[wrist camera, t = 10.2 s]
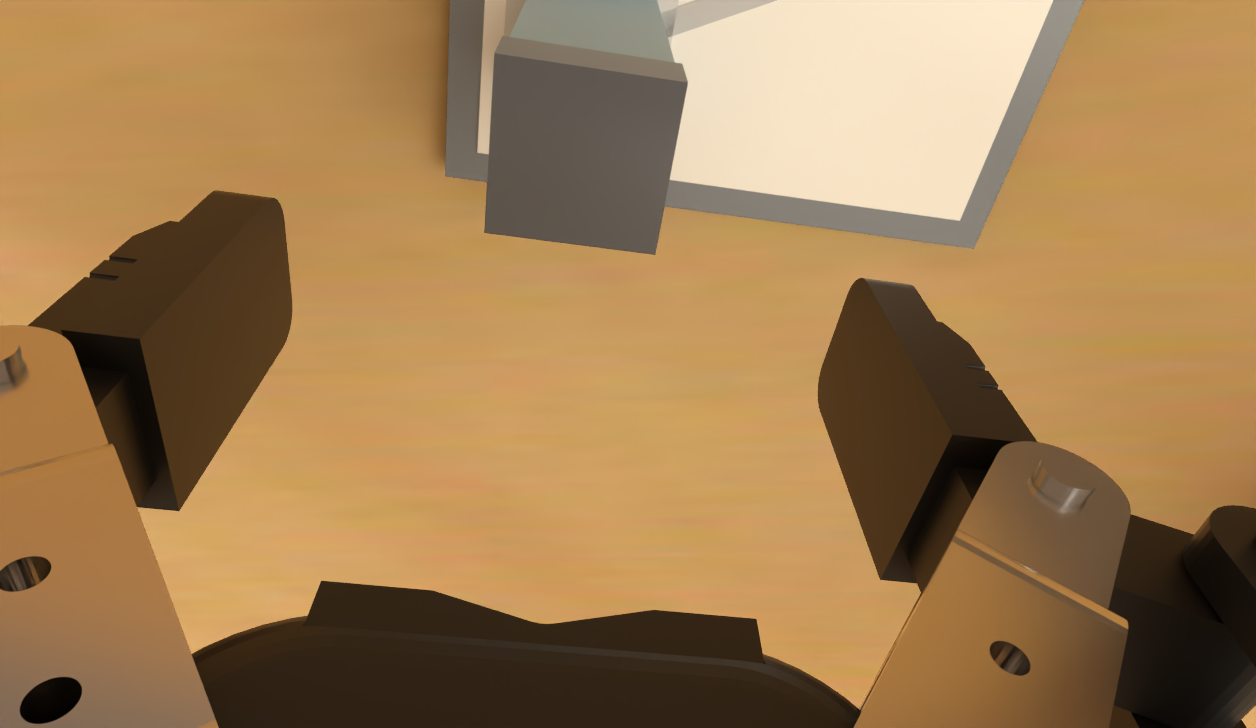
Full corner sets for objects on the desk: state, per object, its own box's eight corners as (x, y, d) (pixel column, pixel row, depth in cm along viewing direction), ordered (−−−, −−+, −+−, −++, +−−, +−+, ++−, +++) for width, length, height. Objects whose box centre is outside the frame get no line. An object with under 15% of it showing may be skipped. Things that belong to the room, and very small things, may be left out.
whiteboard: (1156, -212, 21) (1185, -214, 20) (962, 236, 28) (976, 252, 27) (465, -356, 19) (457, -366, 18) (450, 164, 26) (443, 179, 25)
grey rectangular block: (660, -5, 22) (688, 82, 15) (640, 121, 24) (655, 255, 17) (532, -26, 22) (494, 53, 14) (522, 104, 24) (483, 232, 16)
